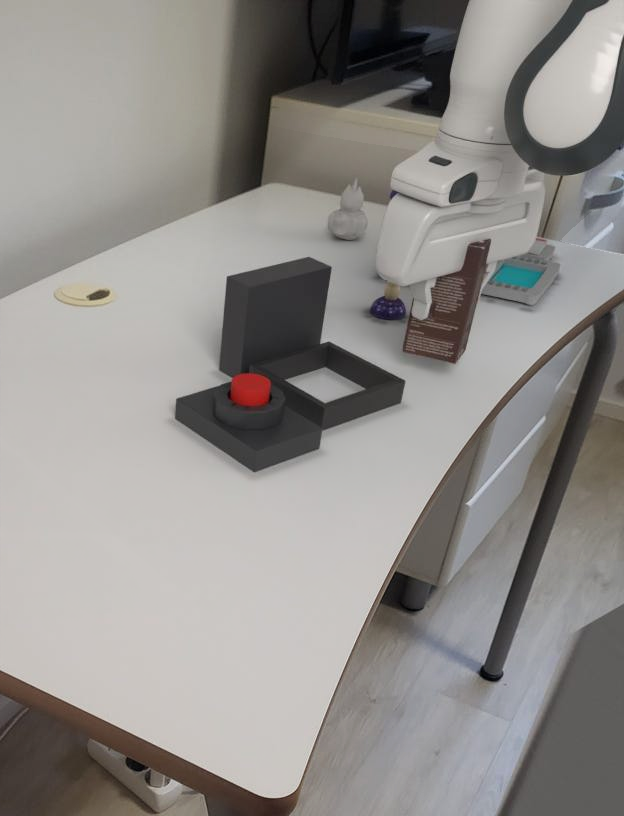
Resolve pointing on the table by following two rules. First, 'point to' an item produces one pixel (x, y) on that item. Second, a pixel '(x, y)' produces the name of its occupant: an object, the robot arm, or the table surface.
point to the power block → (249, 427)
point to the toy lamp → (389, 298)
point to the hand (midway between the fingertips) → (444, 310)
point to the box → (450, 310)
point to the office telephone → (524, 275)
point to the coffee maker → (296, 341)
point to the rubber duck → (349, 215)
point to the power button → (250, 389)
